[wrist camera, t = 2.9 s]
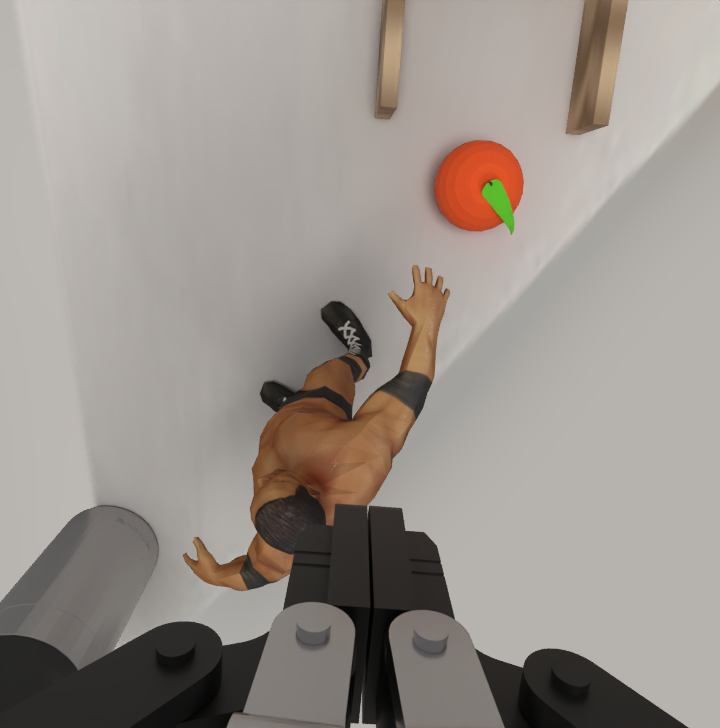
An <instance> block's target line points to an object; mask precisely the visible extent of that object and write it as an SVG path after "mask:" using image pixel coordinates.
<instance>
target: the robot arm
mask: <svg viewBox="0 0 720 728" xmlns="http://www.w3.org/2000/svg"><path fill="white" fill-rule="evenodd" d="M157 557H158V544H157V541H156V538H155V535H154V534H153V532H152V530H151V528H150V527H149V526H148V525H147V524H146V523H145V522H144V521H143V520H142V519H141V518H140V517H138V516H137V515H135V514H134V513H132V512H129V511H127V510H125V509H121V508H117V507H109V506H101V507H94V508H90V509H87V510H85V511H83V512H81V513H79V514H77V515H76V516H75V517H73V518H72V519H71V520H70V521H69V522H68V523H67V525H66V526H65V527H64V528H63V529H62V530H61V532H60V533H59V534H58V535H57V536H56V537H55V539H54V540H53V541H52V542H51V543H50V544H49V545H48V547H47V548H46V549H45V550H44V552H43V553H42V554H41V555H40V556H39V557H38V558H37V560H36V561H35V562H34V563H33V564H32V566H31V567H30V568H29V569H28V571H27V572H26V573H25V574H24V575H23V576H22V578H21V579H20V580H19V581H18V582H17V583H16V584H15V586H14V587H13V588H12V589H11V590H10V592H9V593H8V594H7V595H6V596H5V598H4V599H3V600H2V601H1V602H0V728H350V723H359V714H360V703H361V694H362V723H363V724H376V728H688V727H687V726H685V725H684V724H682V723H681V722H679V721H678V720H676V719H675V718H673V717H672V716H671V715H669V714H668V713H666V712H664V711H663V710H662V709H660V708H659V707H657V706H656V705H654V704H653V703H651V702H650V701H649V700H647V699H646V698H644V697H643V696H641V695H640V694H638V693H637V692H635V691H634V690H632V689H631V688H629V687H628V686H626V685H625V684H624V683H622V682H621V681H619V680H618V679H616V678H615V677H613V676H612V675H610V674H609V673H608V672H606V671H605V670H603V669H602V668H600V667H599V666H597V665H596V664H594V663H593V662H591V661H590V660H588V659H586V658H584V657H582V656H580V655H578V654H575V653H572V652H569V651H566V650H561V649H541V650H538V651H535V652H533V653H532V654H531V655H529V656H528V657H527V659H526V660H525V663H524V667H523V668H522V667H518V666H515V665H512V664H509V663H506V662H503V661H499V660H497V659H494V658H491V657H489V656H487V655H485V654H483V653H481V652H480V651H478V650H476V649H475V647H474V645H473V643H472V640H471V637H470V635H469V633H468V632H467V630H466V629H465V628H464V627H463V626H462V625H461V624H460V623H459V622H457V621H456V620H455V618H454V614H453V610H452V605H451V601H450V597H449V593H448V589H447V585H446V581H445V577H444V573H443V569H442V565H441V561H440V556H439V553H438V548H437V546H436V545H435V543H434V542H433V541H432V540H431V539H430V538H429V537H428V536H427V535H426V534H425V533H424V532H414V531H405V526H404V520H403V513H402V508H391V507H379V506H369V511H368V519H367V506H365V505H351V504H338V503H335V511H334V523H333V526H332V525H318V524H309V525H308V526H307V527H306V528H305V529H304V530H303V531H302V532H301V533H300V534H299V535H298V536H297V541H296V546H295V553H294V557H293V562H292V567H291V572H290V578H289V582H288V588H287V593H286V598H285V603H284V608H283V611H282V612H281V613H279V614H278V615H277V616H276V618H275V619H274V621H273V623H272V627H271V629H270V631H269V632H267V633H265V634H264V635H262V636H260V637H258V638H255V639H253V640H250V641H246V642H241V643H236V644H230V645H224V646H222V642H221V639H220V637H219V636H218V634H217V633H216V632H215V631H214V630H212V629H211V628H209V627H208V626H205V625H203V624H200V623H195V622H173V623H168V624H164V625H161V626H158V627H156V628H154V629H152V630H150V631H148V632H146V633H144V634H143V635H141V636H139V637H137V638H135V639H134V640H132V641H130V642H128V643H126V644H125V645H123V646H121V647H119V648H117V649H116V650H114V648H115V647H116V645H117V643H118V641H119V639H120V636H121V634H122V632H123V630H124V628H125V626H126V624H127V622H128V620H129V618H130V616H131V614H132V612H133V610H134V608H135V606H136V604H137V602H138V600H139V598H140V596H141V594H142V592H143V590H144V588H145V586H146V584H147V582H148V580H149V578H150V576H151V574H152V572H153V569H154V567H155V565H156V563H157Z"/></svg>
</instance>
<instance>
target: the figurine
mask: <svg viewBox="0 0 720 728" xmlns="http://www.w3.org/2000/svg"><path fill="white" fill-rule="evenodd" d="M412 274H413V281H414V291H413V294H412V296H411V297H410V298H409V299H408V300H403V299H402V298H400V297H399V296H398V295H397V294H396V293H395V292H394V291H391V292H390V293H388V295H389V296H390V298H391V300H392V301H393V303H394V304H395V305H396V307H397V308H398V310H399V311H400V312H401V314H402V315H403V317H404V318H405V319H406V320H407V321H408V322H409V323H410V325H411V326H412V330H411V334H410V338H409V341H408V345H407V348H406V351H405V354H404V357H403V360H402V364H401V368H400V371H399V373H398V375H396V376H395V377H394V378H393V379H392V380H390V381H389V382H387V383H386V384H384V385H383V386H381V387H380V388H378V389H377V390H376V391H375V392H374V393H372V394H371V395H370V396H369V397H368V399H367V400H366V401H365V402H364V403H363V405H362V406H361V407H360V409H359V410H358V411H357V413H356V414H355V416H354V417H353V419H352V406H353V400H354V396H355V384H354V383H356V382H358V381H360V380H362V379H363V378H364V377H365V375H366V373H367V372H368V370H369V368H370V363H369V360H368V358H369V357H372V350H371V340H370V338H369V336H368V335H367V333H366V331H365V330H364V328H363V326H362V324H361V323H360V321H359V319H358V318H357V317H356V316H355V314H354V313H353V312H352V310H351V309H349V308H348V307H347V306H345V305H344V304H343V303H341V302H335V301H331V302H330V303H328V304H327V305H326V306H324V307H323V308H322V309H321V314H322V319H323V321H324V322H325V323H326V324H327V325H328V326H329V327H330V329H331V331H332V332H333V333H334V334H335V335H336V336H337V337H338V338H339V340H340V341H341V342H342V343H343V344H344V345H345V346H346V347H347V348H348V352H347V353H346V354H345V355H343V356H341V357H339V358H335V359H333V360H330V361H326V362H325V363H323V364H322V365H320V366H318V367H316V368H314V369H313V370H312V371H311V372H310V373H309V374H308V375H307V378H306V381H305V385H304V387H303V388H302V389H301V390H299V391H298V392H296V393H295V392H294V391H292V390H291V389H290V388H288V387H287V386H285V385H283V384H281V383H279V382H276V381H274V380H272V381H266V382H264V385H263V387H262V390H261V392H260V395H261V398H262V401H263V402H264V403H266V404H267V405H268V406H270V407H271V408H272V409H273V410H274V411H275V412H277V413H276V414H275V415H274V416H273V417H272V418H271V419H270V420H269V421H268V422H267V424H266V426H265V428H264V430H263V432H262V434H261V436H260V443H259V453H258V457H257V459H256V461H255V463H254V465H253V467H252V472H253V482H254V497H253V500H252V503H251V507H250V512H251V520H252V522H253V524H254V526H255V528H256V530H257V534H256V536H255V537H254V539H253V541H252V543H251V545H250V547H249V549H248V552H247V555H243V556H240V557H237V558H235V559H234V560H232V561H231V562H230V563H227V564H223V565H219V564H218V563H217V562H216V561H215V559H214V558H213V556H212V555H211V554H210V553H209V552H208V551H207V549H206V547H205V546H204V544H203V542H202V541H201V540H200V539H199V537H194V540H193V543H194V545H195V547H196V549H197V557H198V561H195V560H193V559H191V558H190V557H189V556H188V555H187V554H186V553H185V554H184V555H183V557H184V559H185V562H186V563H187V564H188V565H189V566H190V567H191V569H192V570H193V572H194V573H195V574H196V575H197V576H198V577H200V578H201V579H202V580H203V581H205V582H206V583H209V584H212V585H216V586H224V587H230V588H232V589H234V590H238V591H246V590H250V589H255V588H259V587H262V586H264V585H266V584H269V583H274V582H277V581H279V580H280V579H282V578H283V577H285V576H287V575H289V574H290V572H291V567H292V562H293V557H294V553H295V546H296V541H297V536H298V535H299V534H300V533H301V532H302V531H303V530H304V529H305V528H306V527H307V526H308V525H309V524H318V525H332V526H333V523H334V511H335V503H338V504H351V505H365V506H367V505H368V504H369V503H370V502H371V501H372V499H373V498H374V497H375V496H376V494H377V492H378V491H379V489H380V487H381V485H382V483H383V482H384V480H385V479H386V477H387V475H388V473H389V472H390V470H391V468H392V459H393V458H394V457H395V456H396V454H398V453H399V452H400V450H401V449H402V447H403V445H404V442H405V440H406V437H407V435H408V433H409V431H410V429H411V428H412V426H413V424H414V423H415V421H416V419H417V418H418V416H419V414H420V412H421V410H422V409H423V406H424V403H425V399H426V396H427V393H428V391H429V388H430V386H431V384H432V381H433V378H434V373H435V357H436V345H437V336H438V331H439V327H440V322H441V320H442V317H443V315H444V311H445V306H446V303H447V300H448V297H449V295H450V291H449V290H448V289H447V288H446V289H445V291H444V295H443V293H442V292H441V290H442V285H443V278H442V277H441V276H438V278H437V281H436V284H435V287H434V286H433V285H432V280H433V276H432V269H431V268H427V267H426V269H425V283H424V282H421V276H420V270H419V267H418V265H413V268H412Z"/></svg>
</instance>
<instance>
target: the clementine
mask: <svg viewBox="0 0 720 728" xmlns="http://www.w3.org/2000/svg"><path fill="white" fill-rule="evenodd" d="M523 183H524V181H523V174H522V169H521V167H520V165H519V162H518V160H517V159H516V157H515V156H514V155H513V154H512V153H511V151H510V150H508V149H507V148H505V147H504V146H502V145H501V144H498V143H495V142H492V141H477V140H476V141H472V142H468V143H465V144H463V145H461V146H459V147H457V148H456V149H454V150H453V151H452V152H451V153H450V154H449V155H448V156H447V157H446V158H445V160H444V161H443V163H442V165H441V166H440V168H439V170H438V174H437V177H436V180H435V196H436V201H437V204H438V206H439V208H440V210H441V212H442V213H443V215H444V216H445V217H446V218H447V219H448V220H449V221H450V222H451V223H453V224H454V225H456V226H457V227H459V228H462V229H465V230H468V231H484V230H488V229H492V228H494V227H496V226H498V225H499V224H501V223H503V222H504V223H505V224H506V225H507V227H508V228H509V230H510V232H511V235H512V232H513V230H514V218H513V212H514V211H515V209H516V208H517V206H518V205H519V202H520V199H521V196H522V194H523Z"/></svg>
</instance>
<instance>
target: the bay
mask: <svg viewBox="0 0 720 728" xmlns="http://www.w3.org/2000/svg"><path fill="white" fill-rule="evenodd" d="M404 5H405V0H383V4H382V19H381V34H380V49H379V64H378V79H377V94H376V109H375V118H380V119H390V117H391V116H392V114H393V113H394V111H395V110H396V108H397V97H398V84H399V71H400V58H401V44H402V31H403V18H404ZM627 5H628V0H585V5H584V12H583V19H582V26H581V33H580V39H579V46H578V53H577V60H576V67H575V74H574V81H573V88H572V95H571V102H570V109H569V116H568V123H567V130H566V134H577V135H580V134H583V133H586V132H589V131H593V130H596V129H599V128H602V127H605V126H608V123H609V117H610V111H611V105H612V98H613V92H614V86H615V80H616V73H617V67H618V61H619V55H620V49H621V42H622V36H623V30H624V24H625V17H626V11H627Z"/></svg>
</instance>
